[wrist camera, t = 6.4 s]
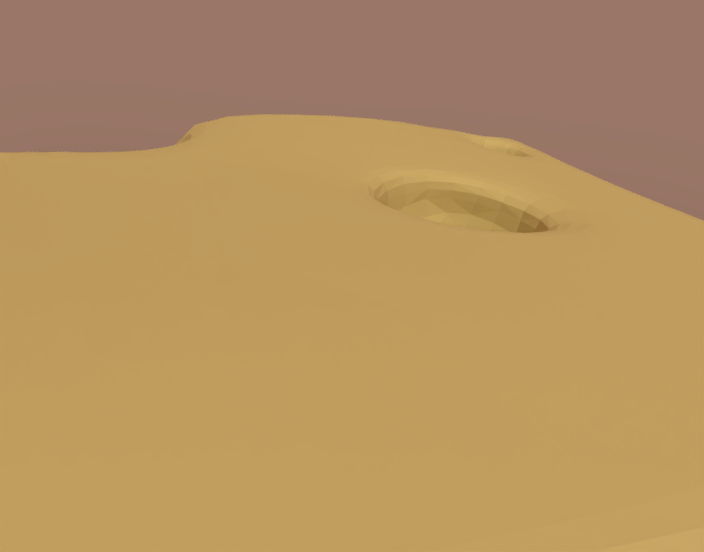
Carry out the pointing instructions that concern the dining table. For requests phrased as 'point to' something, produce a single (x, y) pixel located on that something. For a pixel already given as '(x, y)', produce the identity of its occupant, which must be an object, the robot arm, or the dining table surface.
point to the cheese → (345, 347)
